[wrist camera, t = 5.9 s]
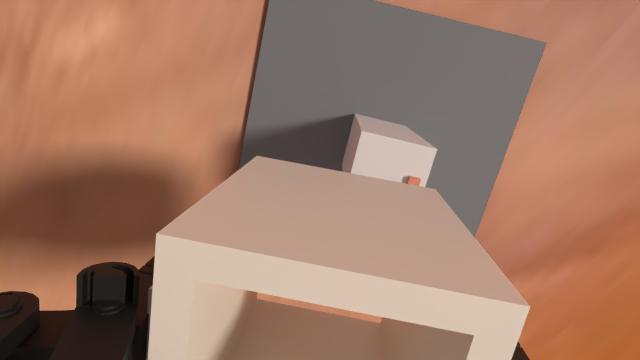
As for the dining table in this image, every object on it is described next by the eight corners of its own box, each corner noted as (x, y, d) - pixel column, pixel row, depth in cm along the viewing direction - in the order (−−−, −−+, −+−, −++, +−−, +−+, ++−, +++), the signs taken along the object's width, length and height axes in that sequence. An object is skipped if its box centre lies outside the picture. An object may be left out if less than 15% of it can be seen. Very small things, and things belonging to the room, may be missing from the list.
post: (228, 229, 33) (176, 298, 22) (274, -23, 28) (234, -84, 17) (455, 283, 33) (507, 376, 23) (543, 43, 28) (664, 22, 17)
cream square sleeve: (236, 311, 17) (125, 532, 8) (257, 155, 15) (142, 244, 7) (395, 343, 16) (440, 602, 8) (435, 189, 15) (544, 323, 6)
